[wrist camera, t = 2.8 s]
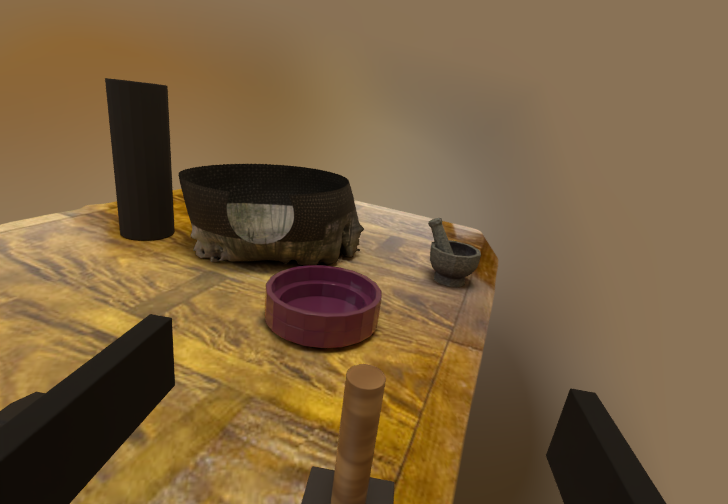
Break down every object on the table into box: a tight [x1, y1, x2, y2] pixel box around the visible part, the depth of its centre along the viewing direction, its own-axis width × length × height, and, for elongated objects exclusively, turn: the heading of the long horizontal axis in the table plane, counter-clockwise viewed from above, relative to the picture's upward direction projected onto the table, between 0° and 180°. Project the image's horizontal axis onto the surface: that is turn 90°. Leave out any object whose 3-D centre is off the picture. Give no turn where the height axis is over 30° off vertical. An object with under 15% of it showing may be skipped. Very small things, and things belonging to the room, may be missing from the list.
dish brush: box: [301, 364, 394, 504], centre depth 27 cm, size 6×5×16 cm
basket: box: [179, 164, 364, 265], centre depth 81 cm, size 28×35×16 cm
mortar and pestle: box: [428, 218, 481, 287], centre depth 79 cm, size 11×9×12 cm
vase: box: [105, 78, 174, 240], centre depth 81 cm, size 10×10×30 cm
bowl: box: [265, 265, 381, 348], centre depth 59 cm, size 17×17×6 cm
